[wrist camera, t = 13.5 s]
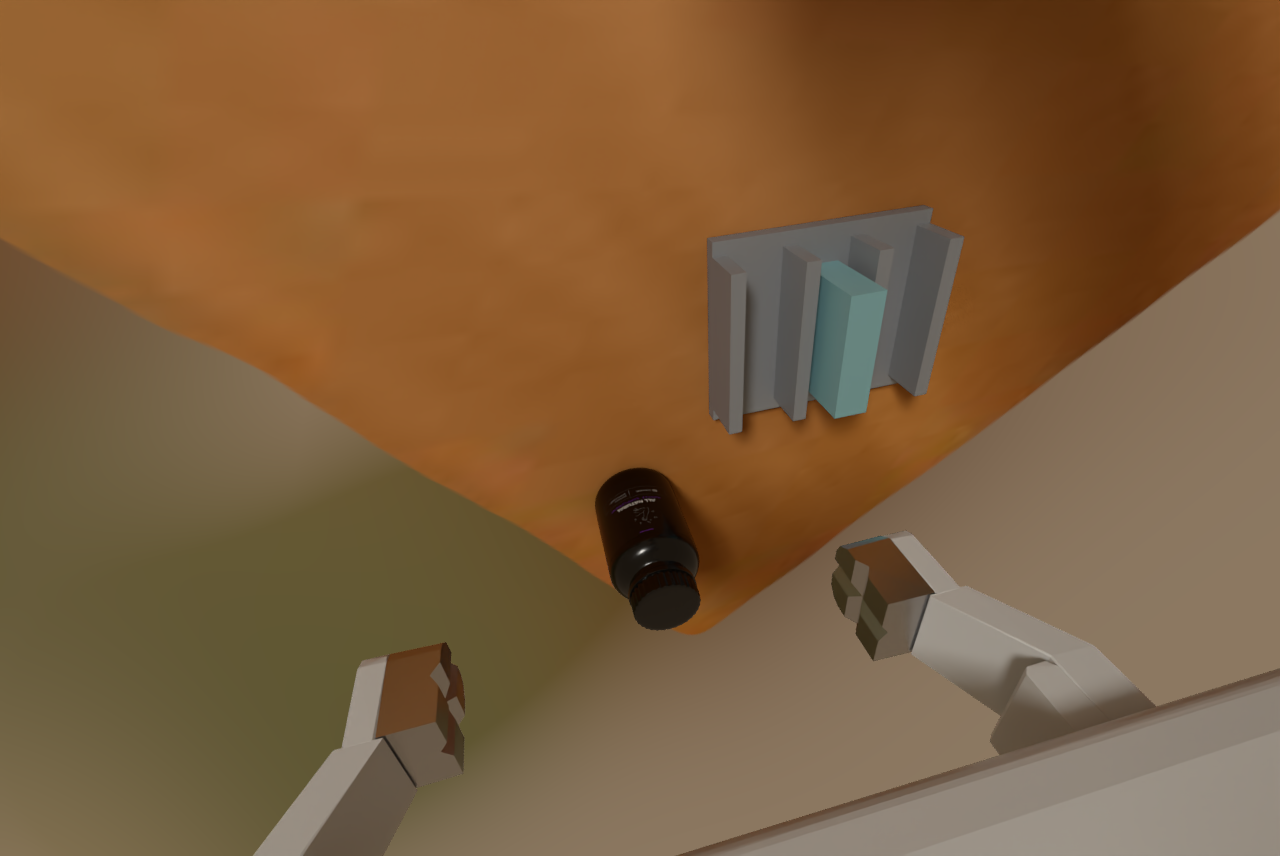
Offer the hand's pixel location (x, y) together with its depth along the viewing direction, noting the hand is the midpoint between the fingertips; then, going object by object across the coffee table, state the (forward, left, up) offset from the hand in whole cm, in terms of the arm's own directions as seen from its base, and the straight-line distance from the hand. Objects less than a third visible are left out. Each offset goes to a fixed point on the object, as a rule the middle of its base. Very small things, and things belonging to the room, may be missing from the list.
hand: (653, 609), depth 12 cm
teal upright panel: (+9, +19, -28) cm, 35 cm away
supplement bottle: (+23, +4, -29) cm, 37 cm away
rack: (+9, +19, -29) cm, 36 cm away
